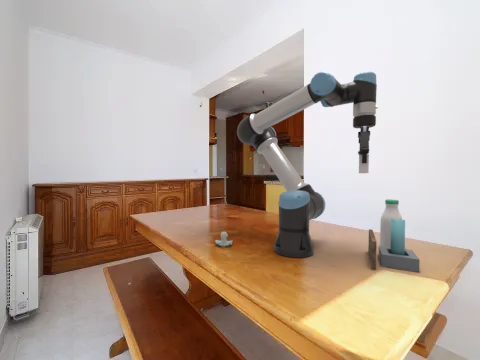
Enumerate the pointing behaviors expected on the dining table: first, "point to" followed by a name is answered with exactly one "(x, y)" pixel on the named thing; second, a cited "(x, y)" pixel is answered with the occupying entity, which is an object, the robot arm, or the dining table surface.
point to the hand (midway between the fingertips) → (363, 173)
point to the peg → (397, 237)
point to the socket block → (399, 259)
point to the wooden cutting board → (372, 249)
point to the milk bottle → (388, 221)
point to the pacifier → (224, 240)
